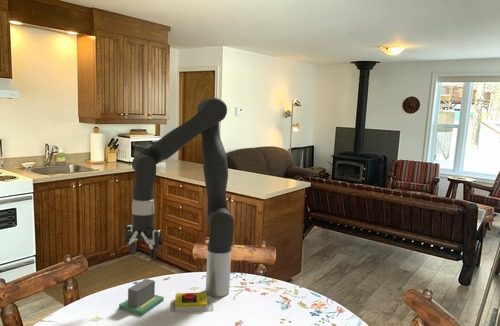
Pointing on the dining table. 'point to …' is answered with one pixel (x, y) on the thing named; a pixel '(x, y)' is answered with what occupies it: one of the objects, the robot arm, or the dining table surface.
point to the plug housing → (141, 293)
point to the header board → (144, 307)
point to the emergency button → (191, 303)
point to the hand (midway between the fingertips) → (142, 256)
